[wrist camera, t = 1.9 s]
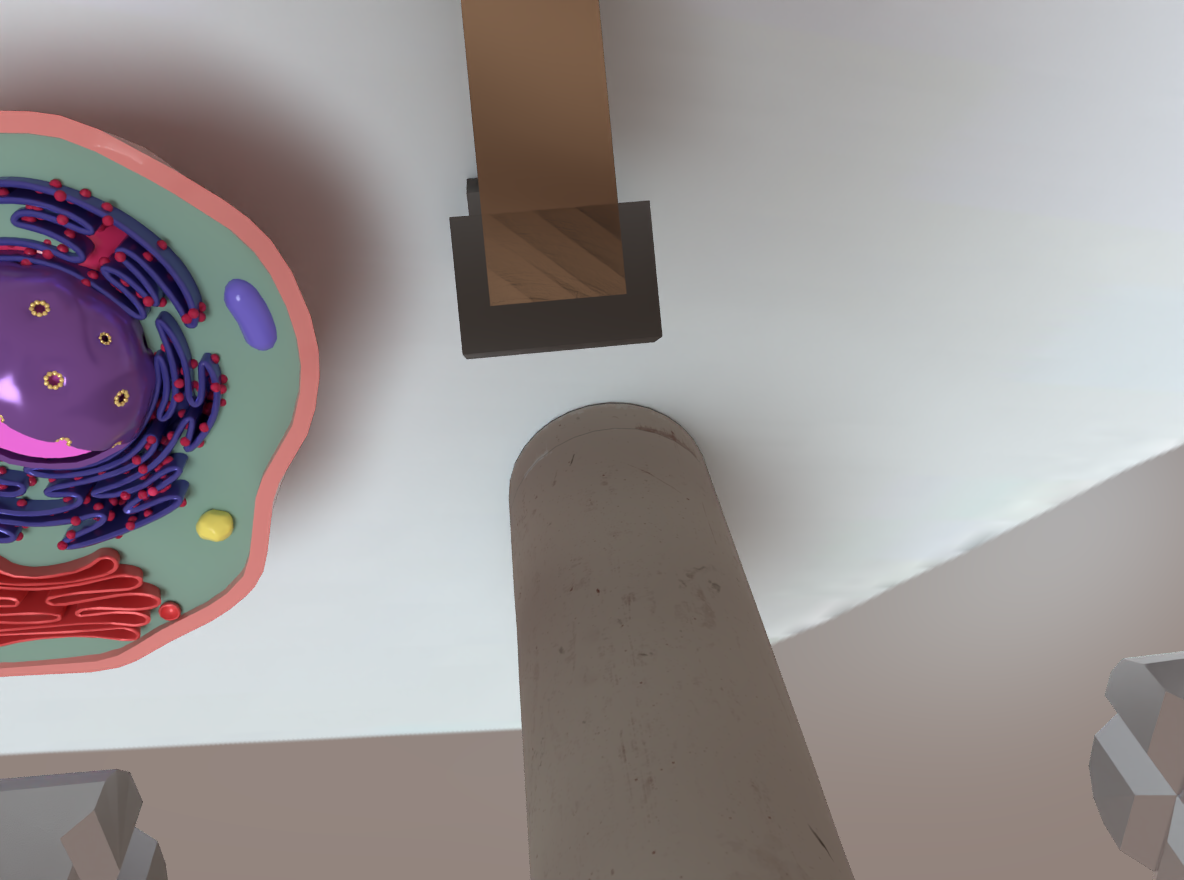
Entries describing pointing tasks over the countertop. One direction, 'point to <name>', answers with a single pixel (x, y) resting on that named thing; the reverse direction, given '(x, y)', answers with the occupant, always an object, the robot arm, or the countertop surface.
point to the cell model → (134, 398)
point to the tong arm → (547, 191)
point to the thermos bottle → (650, 670)
